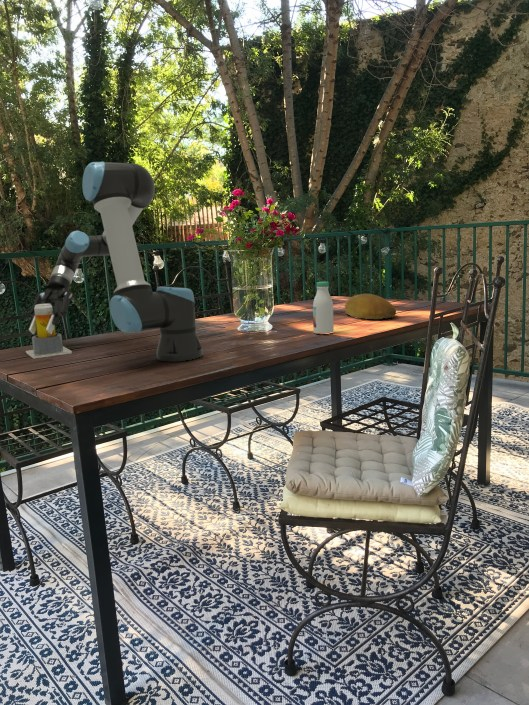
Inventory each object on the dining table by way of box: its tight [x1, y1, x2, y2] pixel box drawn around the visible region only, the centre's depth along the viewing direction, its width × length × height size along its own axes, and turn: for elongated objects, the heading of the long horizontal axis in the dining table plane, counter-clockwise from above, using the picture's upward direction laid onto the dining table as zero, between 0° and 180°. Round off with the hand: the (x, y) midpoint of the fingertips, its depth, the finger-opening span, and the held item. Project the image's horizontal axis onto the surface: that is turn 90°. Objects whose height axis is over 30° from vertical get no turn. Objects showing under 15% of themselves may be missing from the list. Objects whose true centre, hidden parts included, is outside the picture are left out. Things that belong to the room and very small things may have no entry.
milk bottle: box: [312, 281, 334, 334], centre depth 222 cm, size 8×8×20 cm
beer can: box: [34, 303, 57, 338], centre depth 206 cm, size 6×6×15 cm
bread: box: [344, 293, 397, 320], centre depth 265 cm, size 18×35×10 cm, turn 15°
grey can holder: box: [25, 333, 73, 360], centre depth 207 cm, size 13×13×6 cm
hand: (40, 331), depth 202 cm, fingers closed on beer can, 6 cm apart
